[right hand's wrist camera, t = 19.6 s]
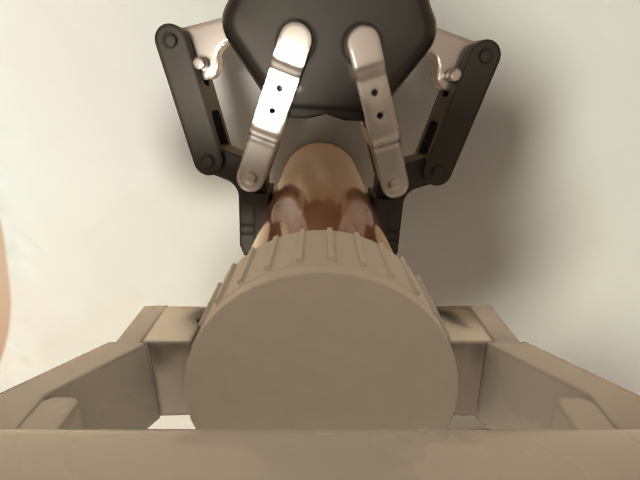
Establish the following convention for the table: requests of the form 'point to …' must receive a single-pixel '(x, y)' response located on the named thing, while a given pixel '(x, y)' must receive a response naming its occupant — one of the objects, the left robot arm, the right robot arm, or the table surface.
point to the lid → (321, 341)
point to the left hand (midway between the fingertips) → (318, 262)
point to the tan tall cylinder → (320, 197)
